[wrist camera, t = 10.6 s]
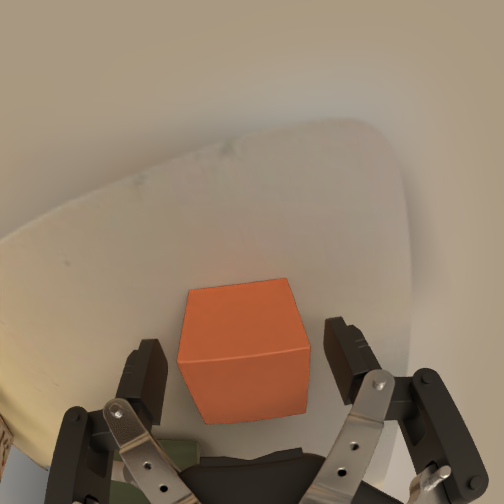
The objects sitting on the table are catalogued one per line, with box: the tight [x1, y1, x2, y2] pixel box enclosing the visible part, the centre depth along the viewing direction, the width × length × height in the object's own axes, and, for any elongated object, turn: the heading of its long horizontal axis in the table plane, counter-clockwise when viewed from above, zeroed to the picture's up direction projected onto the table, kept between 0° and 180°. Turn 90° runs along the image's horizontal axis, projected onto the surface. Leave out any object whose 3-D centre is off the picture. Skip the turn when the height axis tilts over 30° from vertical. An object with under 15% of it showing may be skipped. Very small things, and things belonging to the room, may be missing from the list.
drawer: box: [53, 440, 200, 504], centre depth 16 cm, size 19×13×8 cm
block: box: [177, 278, 311, 424], centre depth 12 cm, size 5×5×5 cm
